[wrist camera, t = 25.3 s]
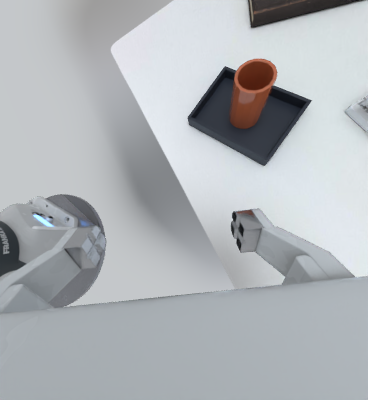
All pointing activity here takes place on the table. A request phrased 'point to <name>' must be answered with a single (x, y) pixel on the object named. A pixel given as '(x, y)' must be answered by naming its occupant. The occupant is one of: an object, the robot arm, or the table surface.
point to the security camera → (359, 113)
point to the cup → (251, 92)
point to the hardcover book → (285, 9)
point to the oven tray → (256, 135)
